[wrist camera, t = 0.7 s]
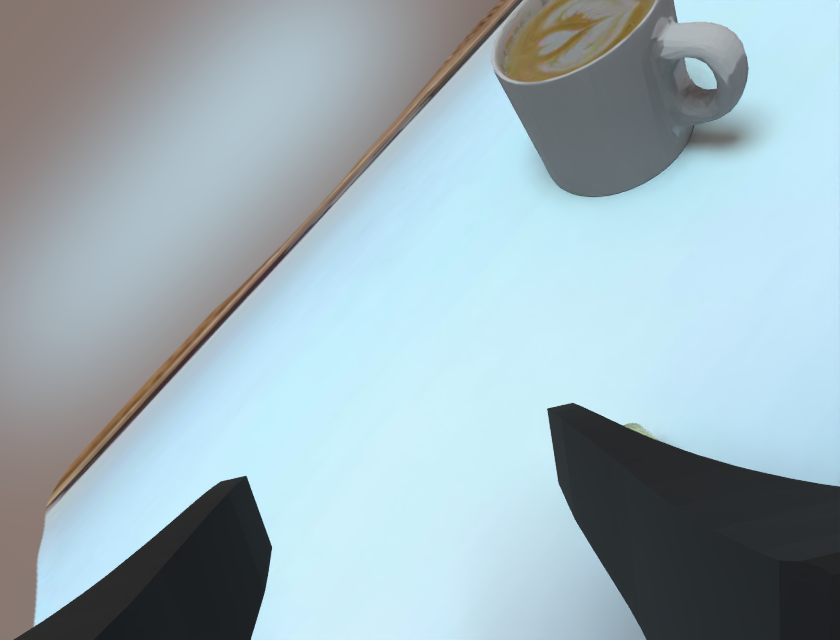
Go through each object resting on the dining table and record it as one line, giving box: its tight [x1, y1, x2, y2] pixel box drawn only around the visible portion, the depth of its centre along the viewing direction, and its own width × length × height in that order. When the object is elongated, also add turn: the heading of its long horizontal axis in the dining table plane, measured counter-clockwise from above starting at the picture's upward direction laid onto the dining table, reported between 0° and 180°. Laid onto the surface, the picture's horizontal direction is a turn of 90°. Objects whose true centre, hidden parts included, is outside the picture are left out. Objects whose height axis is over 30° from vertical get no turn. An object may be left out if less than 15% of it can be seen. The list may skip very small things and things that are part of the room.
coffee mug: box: [491, 0, 748, 197], centre depth 30 cm, size 13×10×10 cm
